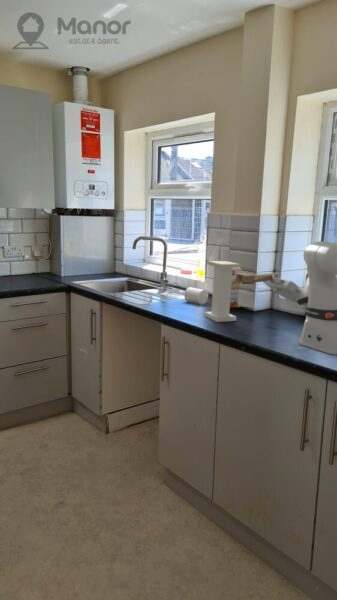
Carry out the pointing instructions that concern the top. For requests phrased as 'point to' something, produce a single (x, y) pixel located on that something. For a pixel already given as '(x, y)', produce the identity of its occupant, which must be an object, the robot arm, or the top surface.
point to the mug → (196, 295)
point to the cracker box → (234, 288)
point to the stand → (221, 291)
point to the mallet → (253, 278)
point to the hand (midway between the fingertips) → (269, 276)
